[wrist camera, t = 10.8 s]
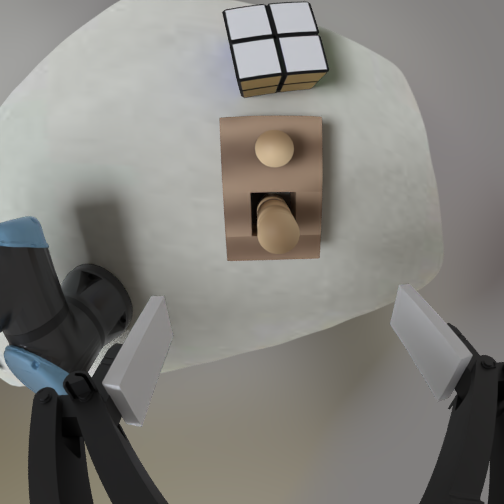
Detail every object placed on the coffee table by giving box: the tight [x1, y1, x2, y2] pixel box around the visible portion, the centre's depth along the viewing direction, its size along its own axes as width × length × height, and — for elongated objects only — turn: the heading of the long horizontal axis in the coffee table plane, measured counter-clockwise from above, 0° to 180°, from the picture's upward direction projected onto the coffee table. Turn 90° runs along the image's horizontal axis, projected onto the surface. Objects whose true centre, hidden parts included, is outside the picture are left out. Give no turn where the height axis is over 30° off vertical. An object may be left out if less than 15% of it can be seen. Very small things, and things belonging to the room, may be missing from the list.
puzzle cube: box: [222, 2, 329, 98], centre depth 27 cm, size 10×10×10 cm
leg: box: [257, 193, 300, 254], centre depth 33 cm, size 4×4×14 cm
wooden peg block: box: [220, 116, 322, 261], centre depth 33 cm, size 18×12×10 cm, turn 2°
